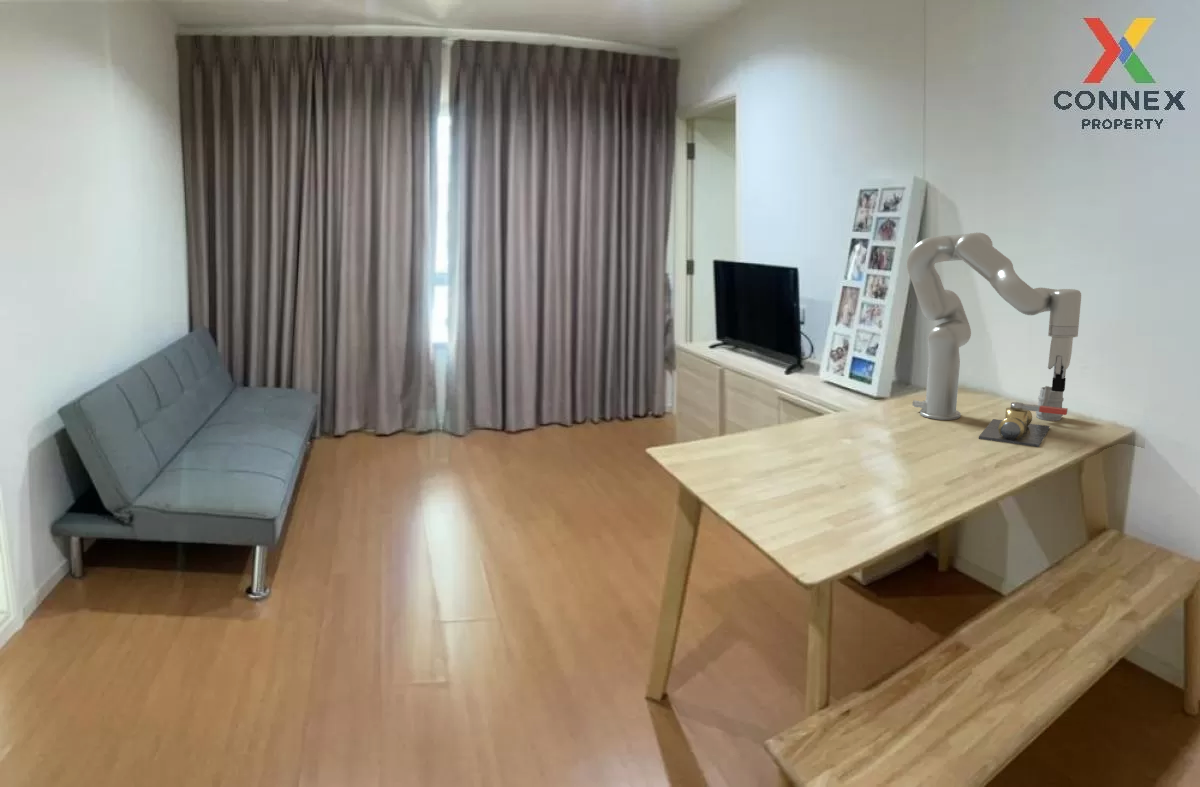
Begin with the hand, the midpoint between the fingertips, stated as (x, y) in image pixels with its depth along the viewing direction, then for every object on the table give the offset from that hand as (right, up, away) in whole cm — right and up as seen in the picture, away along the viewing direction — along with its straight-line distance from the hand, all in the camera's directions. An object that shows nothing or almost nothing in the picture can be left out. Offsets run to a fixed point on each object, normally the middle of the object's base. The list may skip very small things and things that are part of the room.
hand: (1058, 390), depth 225 cm
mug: (+7, -9, +18) cm, 21 cm away
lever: (-7, -6, -1) cm, 9 cm away
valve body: (-11, -13, +4) cm, 18 cm away
